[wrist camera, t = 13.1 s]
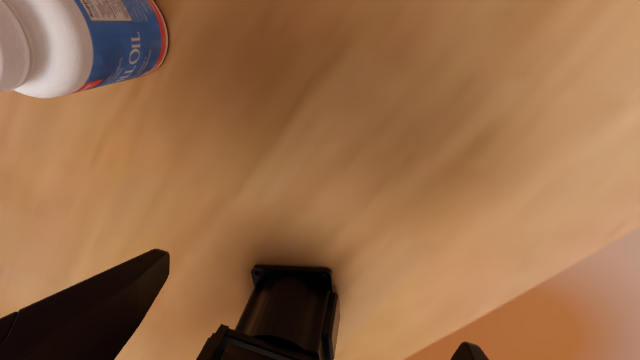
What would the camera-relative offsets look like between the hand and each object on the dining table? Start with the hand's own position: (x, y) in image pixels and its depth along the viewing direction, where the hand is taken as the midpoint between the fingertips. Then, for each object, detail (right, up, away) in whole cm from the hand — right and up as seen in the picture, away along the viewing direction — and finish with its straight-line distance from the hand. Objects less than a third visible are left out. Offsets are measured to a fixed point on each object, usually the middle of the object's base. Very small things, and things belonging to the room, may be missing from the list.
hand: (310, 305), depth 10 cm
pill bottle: (-11, +13, +11) cm, 20 cm away
